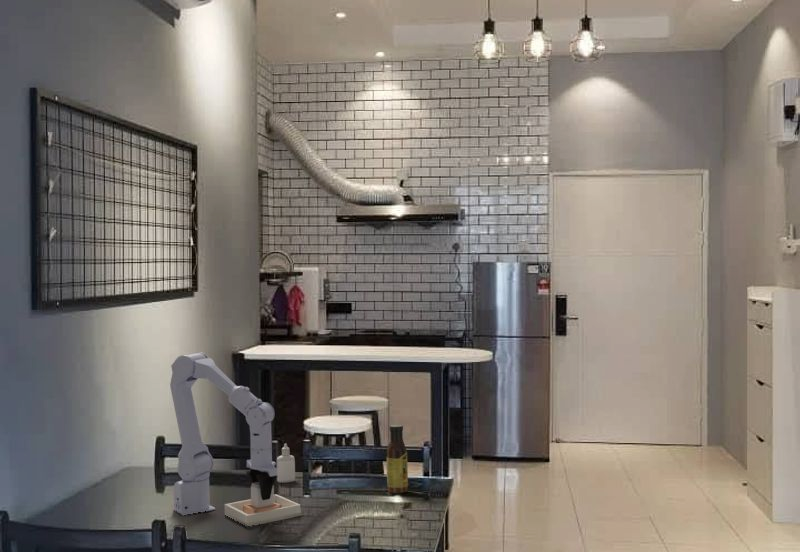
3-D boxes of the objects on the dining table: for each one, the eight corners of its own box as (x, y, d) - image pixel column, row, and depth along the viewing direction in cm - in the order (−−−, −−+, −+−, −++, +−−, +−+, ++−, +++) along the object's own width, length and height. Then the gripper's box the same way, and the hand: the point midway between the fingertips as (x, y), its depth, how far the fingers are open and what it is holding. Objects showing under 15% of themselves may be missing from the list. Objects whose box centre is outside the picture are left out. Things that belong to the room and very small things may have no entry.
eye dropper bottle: (291, 483, 264) (290, 445, 264) (275, 482, 265) (274, 444, 265) (297, 480, 268) (296, 442, 268) (280, 479, 270) (280, 442, 269)
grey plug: (257, 507, 227) (257, 485, 227) (251, 504, 230) (250, 483, 230) (274, 504, 230) (273, 482, 230) (267, 501, 233) (267, 480, 233)
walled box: (247, 527, 219) (246, 515, 219) (224, 515, 231) (224, 504, 231) (300, 515, 229) (300, 504, 229) (276, 504, 240) (276, 494, 240)
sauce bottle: (407, 494, 248) (406, 427, 248) (386, 494, 249) (385, 427, 248) (408, 488, 255) (406, 423, 255) (387, 488, 255) (386, 423, 255)
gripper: (286, 450, 226) (287, 500, 226) (262, 442, 238) (263, 489, 238) (263, 454, 222) (264, 505, 222) (239, 445, 234) (240, 494, 234)
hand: (262, 497), depth 230 cm, fingers closed on grey plug, 4 cm apart
